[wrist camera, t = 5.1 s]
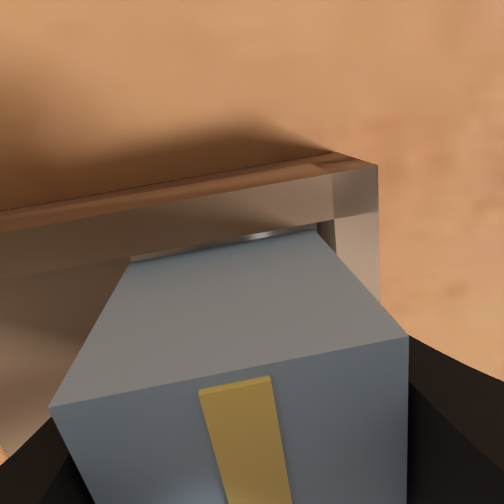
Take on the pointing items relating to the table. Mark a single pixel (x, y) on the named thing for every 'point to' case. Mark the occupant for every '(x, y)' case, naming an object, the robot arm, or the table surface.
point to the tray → (154, 256)
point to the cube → (240, 382)
